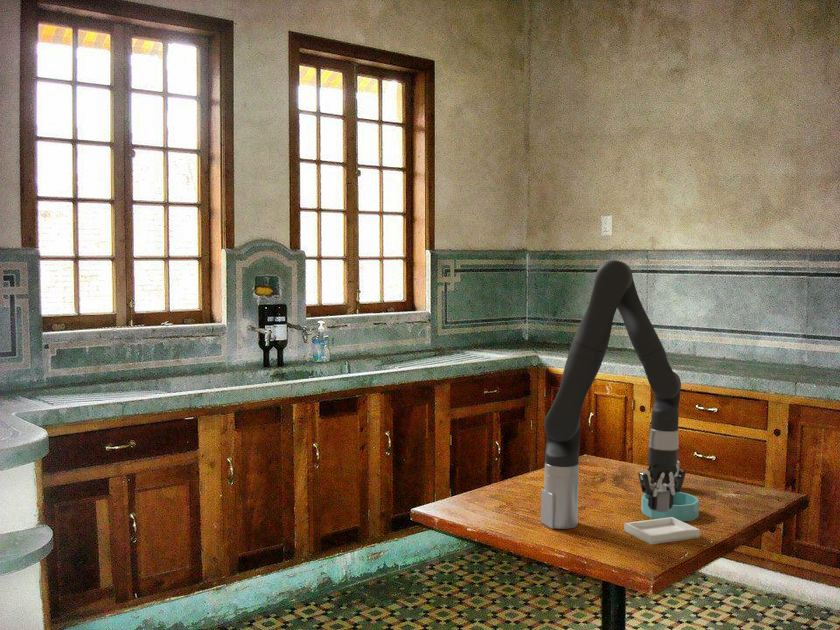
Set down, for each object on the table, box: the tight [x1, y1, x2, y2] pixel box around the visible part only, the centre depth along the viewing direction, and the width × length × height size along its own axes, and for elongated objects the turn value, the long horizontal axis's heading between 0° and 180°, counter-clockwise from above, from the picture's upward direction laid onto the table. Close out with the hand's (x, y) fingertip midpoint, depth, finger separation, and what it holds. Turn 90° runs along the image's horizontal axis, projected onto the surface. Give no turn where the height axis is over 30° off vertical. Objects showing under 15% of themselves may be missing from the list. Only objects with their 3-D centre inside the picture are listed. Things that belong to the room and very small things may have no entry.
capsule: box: [654, 489, 670, 512], centre depth 231 cm, size 4×4×5 cm
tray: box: [623, 517, 701, 545], centre depth 231 cm, size 16×12×2 cm
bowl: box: [640, 491, 700, 522], centre depth 250 cm, size 16×16×4 cm
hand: (660, 508), depth 231 cm, fingers closed on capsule, 4 cm apart
